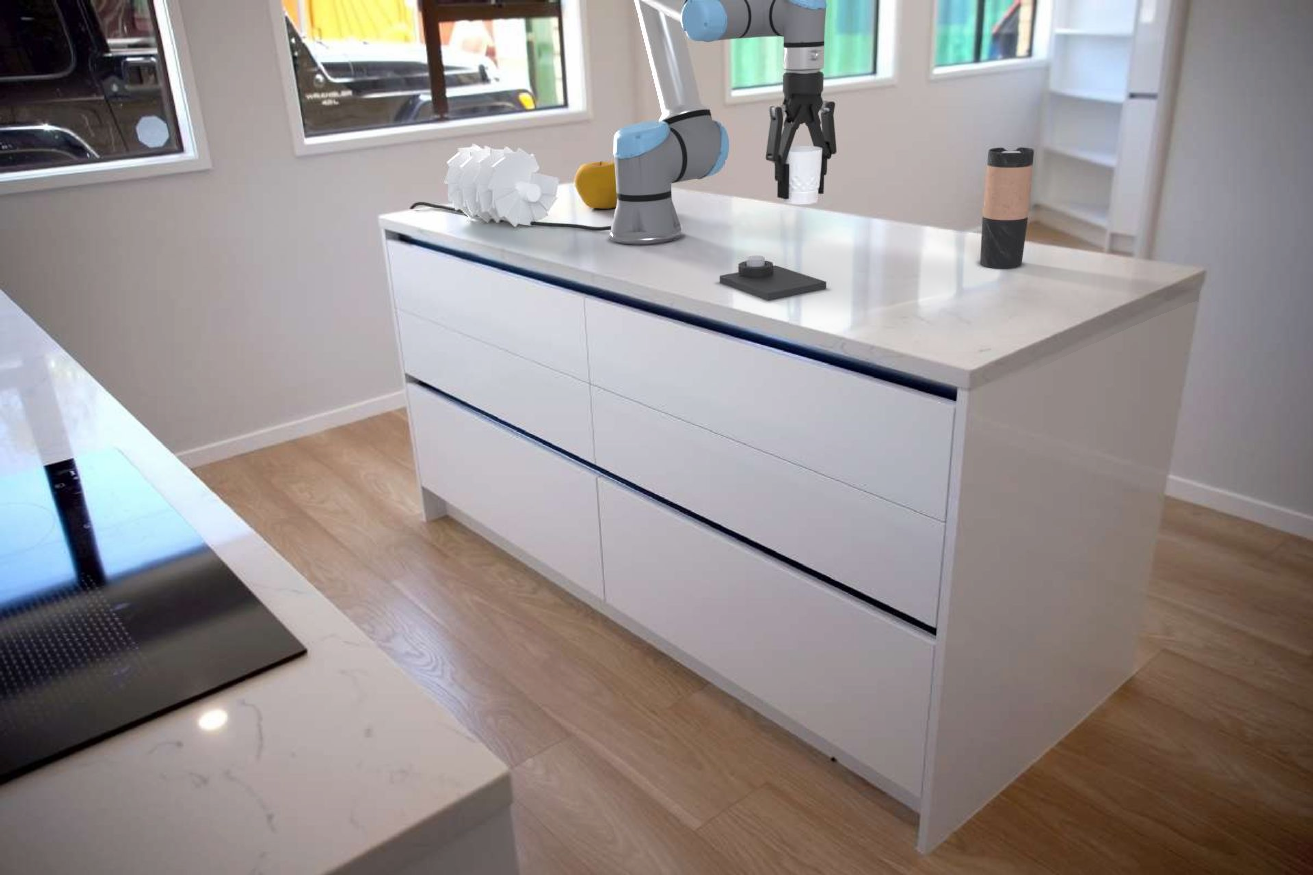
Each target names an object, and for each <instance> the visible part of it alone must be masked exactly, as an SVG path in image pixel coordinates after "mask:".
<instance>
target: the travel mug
mask: <svg viewBox="0 0 1313 875" xmlns="http://www.w3.org/2000/svg"><path fill="white" fill-rule="evenodd" d="M987 153H988V154H987V161H986V162H987V163H986V164H987V165H986V173H985V174H986V175H985V184H984V185H985V186H984V195H983V196H984V197H983V208H982V220H981V222H982V223H981V239H980V258H979V259H980V260H979V261H980V262H979V263H980V265H981V266H983V267H984V268H985V267H986V268H988V269H989V268H990V269H999V270H1000V269H1002V270H1003V269H1004V270H1007V269H1015V268H1019V267H1021V266H1022V263H1023V257H1024V250H1025V243H1026V237H1027V236H1026V235H1027V227H1028V218H1029V213H1030V212H1029V211H1030V210H1029V209H1030V202H1031V201H1030V198H1031V190H1032V189H1031V188H1032V179H1033V178H1032V177H1033V168H1034V167H1033V165H1034V157H1035V150H1034V149H1033V148H1030V147H1024V146H1023V147H1017V148H1016V149H1014V150H1013V149H1012V150H1009V149H1005V147H993V148H990V149H988V152H987Z"/></svg>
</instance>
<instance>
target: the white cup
mask: <svg viewBox="0 0 1313 875" xmlns="http://www.w3.org/2000/svg"><path fill="white" fill-rule="evenodd" d="M821 162H822V148H820V147H815V146H814V145H793V146H792V145H791V148H790V151H789V154H788V157H787V160H786V162H785V164H789V199H782V202H783V203H785V204H788V205H799V206H801V205H810V204H812V205H813V204H815V203H817V202H818V201H819V194H818V190H819V189H818V188H819V186H820V173H821Z"/></svg>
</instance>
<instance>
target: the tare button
mask: <svg viewBox="0 0 1313 875" xmlns="http://www.w3.org/2000/svg"><path fill="white" fill-rule="evenodd" d="M746 261H747V266H749V267H760V266H765V261H766V258H765V256H763V255H750V256H749V255H748V256H746Z"/></svg>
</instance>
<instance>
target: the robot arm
mask: <svg viewBox="0 0 1313 875" xmlns="http://www.w3.org/2000/svg"><path fill="white" fill-rule="evenodd" d="M633 1H634V3H635V7H636V11H637V13H638V14H637V15H638V18H639V23H640V27H641V31H642V35H643V39H644V43H645V47H646V51H647V55H648V59H649V64H650V68H651V72H652V76H653V79H654V80H653V81H654V84H655V88H656V93H657V96H658V101H659V104H660V109H661V116H660V118H659V120H651V121H645V122H636V123H633V124H629V125H625V126H623V127H621V128H619V129H618V130H617V131H616V132H615V134H614V136H613V152H612V154H613V157H614V162H615V174H616V190H617V206H616V207H615V210H614V214H613V219H612V222H611V225H606V226H591V225H584V224H577V223H565V222H564V223H563V222H545V221H536V222H534V220H533V221H532V222H530V225H533V226H537V227H551V228H568V229H579V230H584V231H585V230H586V231H593V232H603V231H610V240H611V241H612V242H614V243H617V244H622V245H634V246H635V245H638V246H641V245H642V246H644V245H645V246H646V245H658V244H663V243H664V244H665V243H669V242H673V241H676V240H679V239H680V238H681V237H682V236H683V235H682V234H683V233H682V225H681V222H680V219H679V216H678V214H677V210H676V208H675V205H674V203H673V199H672V198H673V196H672V184H675V183H681V182H686V181H687V182H688V181H691V180H703V179H704V178H705V179H706V178H709V177H711V176H714V175H716V174H718V173H719V172H721V170H722V169H723V167H724V166H725V164H726V160H727V159H728V156H729V152H730V139H729V134H728V131H727V130H726V127H725V126H724V125H722V123H721V122H719V121H717V120H714V119H713V117H712V116H713V115H712V113H711V109H710V107H708V106H707V105H705V104H703V103H702V100H701V97H700V93H699V89H698V83H697V79H696V76H695V71H694V67H693V63H692V60H691V55H690V51H689V47H688V43H687V38H686V36H687V37H688V38H689V39H690V40H691V41H695V42H705V43H711V42H717V41H725V40H737V39H739V40H740V39H751V38H768V37H773V38H774V37H781V38H782V37H783V45H782V46H783V49H782V50H783V52H782V69H783V70H784V71H785V72H784V73H783V75H782V93H783V101H782V104H779V105H776V106H774V105H771V106H770V107H769V109H768V111H769V112H768V113H769V119H770V121H769V128H768V129H769V130H768V135H767V136H768V137H767V144H766V151H765V160H766V161H768V162H771V163H773V164H774V180H775V182H777V185H776V186H777V190H776V192H777V195H776V197H777V198H779V199H782V200H783V199H789V164H785V162H786V160H787V157H788V154H789V151H790V148H791V147H792V144H793V141H794V139H795V136H796V133H797V130H798V129H799V128H800V125H803V124H805V126H806V127H807V129H808V133H809V136H810V139H811V142H812V146H815V147H820V148H822V162H821V173H820V186H819V188H818V189H819V190H818V195H822V194H825V176H827V174H828V160H830V159H831V158H832V155H836V154H837V140H836V128H835V117H834V116H835V109H836V102H835V101H830V100H824V99H823V97H822V93H823V91H824V82H825V81H824V79H825V78H824V77H825V74H824V72H823V71H821V70H823V69H824V68H825V35H826V16H827V15H826V14H827V6H828V4H827V0H633ZM685 34H686V35H685ZM819 112H820V115H819ZM785 115H786V116H785ZM784 117H785V118H784ZM418 206H425V207H429V208H433V209H440V210H447V211H451V212H456V213H460V214H464V215H466V214H465V213H464V212H463V211H462V210H461V209H458V210H455V208H454V206H448V205H445V204H435V203H431V202H426V201H417V202H414V203H413V204H411V206H410V207H409V209H410V210H414V209H415V208H416V207H418ZM475 217H476V218H479V219H482V218H481V217H480V216H475ZM490 221H494V222H496V221H495V220H494V219H490ZM499 222H501V223H508V224H511V223H510V222H508V221H504V220H500V221H499ZM530 225H529V226H530Z"/></svg>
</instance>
